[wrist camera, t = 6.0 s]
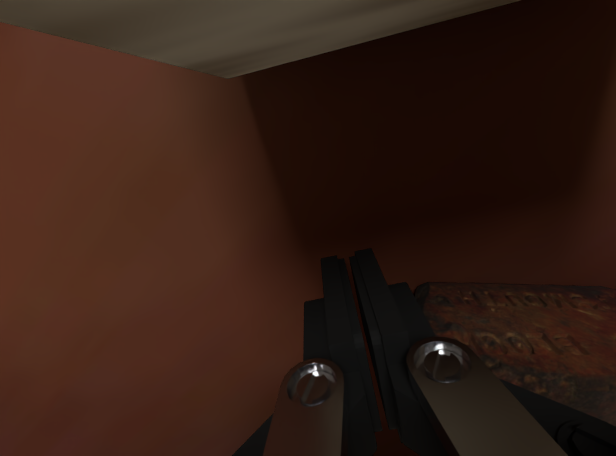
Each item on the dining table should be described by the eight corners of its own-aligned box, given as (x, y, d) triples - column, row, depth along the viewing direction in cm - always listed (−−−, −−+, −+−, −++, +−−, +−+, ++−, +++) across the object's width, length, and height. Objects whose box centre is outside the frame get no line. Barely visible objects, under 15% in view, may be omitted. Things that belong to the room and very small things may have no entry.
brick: (686, 280, 12) (903, 385, 7) (641, 362, 13) (801, 488, 9) (402, 274, 12) (455, 374, 7) (390, 356, 13) (428, 479, 9)
